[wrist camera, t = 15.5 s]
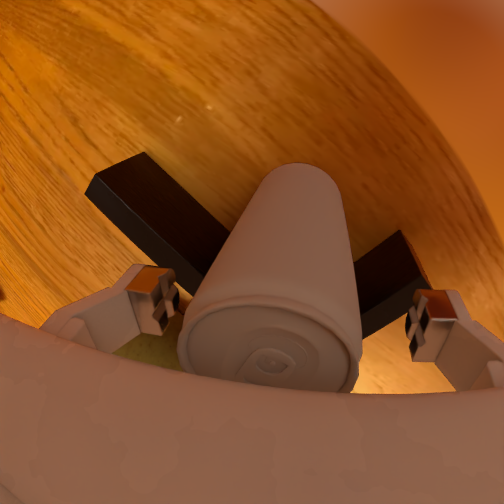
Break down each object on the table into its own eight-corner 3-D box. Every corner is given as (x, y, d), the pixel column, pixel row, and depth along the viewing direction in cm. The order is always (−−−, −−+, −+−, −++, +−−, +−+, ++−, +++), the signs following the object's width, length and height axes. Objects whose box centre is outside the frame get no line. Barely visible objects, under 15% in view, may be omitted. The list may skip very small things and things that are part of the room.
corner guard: (227, 49, 14) (192, 35, 10) (412, 246, 17) (435, 294, 13) (132, 168, 18) (83, 194, 14) (299, 322, 22) (291, 376, 17)
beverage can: (356, 185, 16) (407, 350, 6) (316, 252, 19) (300, 436, 8) (278, 145, 16) (201, 256, 6) (244, 217, 19) (157, 379, 8)
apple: (168, 363, 27) (138, 422, 21) (118, 298, 24) (72, 356, 18) (237, 353, 25) (212, 425, 18) (185, 276, 22) (140, 346, 16)
